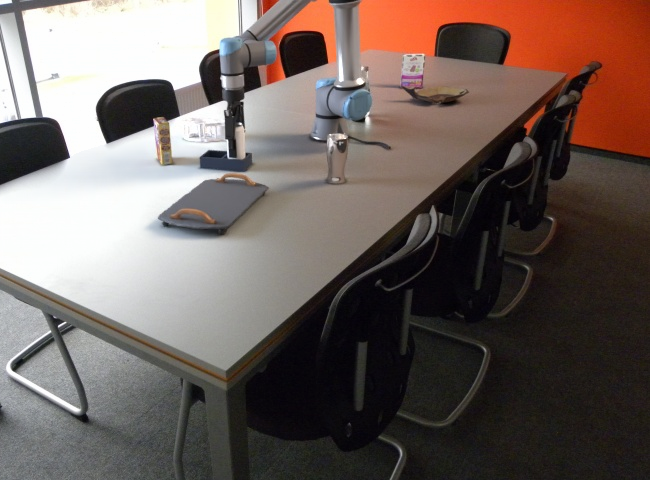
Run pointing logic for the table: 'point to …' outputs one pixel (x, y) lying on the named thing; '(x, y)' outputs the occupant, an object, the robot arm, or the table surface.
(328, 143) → the beer glass
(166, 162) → the candy box
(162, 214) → the serving tray
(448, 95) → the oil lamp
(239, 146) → the can
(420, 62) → the candy bar box
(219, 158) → the tray
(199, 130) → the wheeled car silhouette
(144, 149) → the table surface
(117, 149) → the table surface
